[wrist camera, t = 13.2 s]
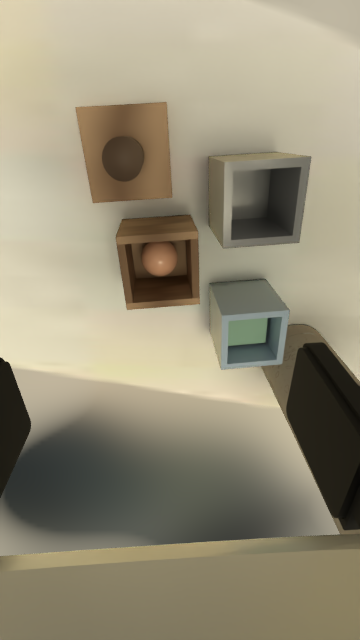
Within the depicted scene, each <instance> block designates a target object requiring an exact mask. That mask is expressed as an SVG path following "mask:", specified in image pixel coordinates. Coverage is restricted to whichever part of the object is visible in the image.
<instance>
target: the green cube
mask: <svg viewBox="0 0 360 640" xmlns="http://www.w3.org/2000/svg"><path fill="white" fill-rule="evenodd" d="M267 321H268V318H260V319H248V320H236V321H229V324H228V346H233V345H244V344H256V343H265V341H266V331H267Z"/></svg>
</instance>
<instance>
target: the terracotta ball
mask: <svg viewBox="0 0 360 640" xmlns="http://www.w3.org/2000/svg"><path fill="white" fill-rule="evenodd" d="M141 261H142V264H143V266H144V268H145V269H146V271H147V272H149V273H150V274H152V275H154V276H165V275H168V274H170V273H171V272H172V271H173V270H174V269H175V267H176V265H177V262H178V254H177V251H176V249H175V247H174V246H173V245H172V244H171V243H170V242H169V241H162V242H149V243H147V244H146V245H145V247H144V248H143V251H142V254H141Z"/></svg>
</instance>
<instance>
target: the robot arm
mask: <svg viewBox="0 0 360 640" xmlns="http://www.w3.org/2000/svg"><path fill="white" fill-rule="evenodd" d="M286 413H287V417H288V420H289V422H290V424H291V427H292V429H293V431H294V433H295V435H296V438H297V440H298V442H299V444H300V447H301V449H302V451H303V453H304V456H305V458H306V460H307V462H308V465H309V467H310V469H311V471H312V473H313V476H314V478H315V480H316V482H317V485H318V487H319V489H320V491H321V494H322V496H323V498H324V500H325V502H326V505H327V507H328V509H329V511H330V513H331V515H332V516H333V517H334V518H338V519H339V521H340V523H341V526H342V528H343V530H359V529H360V386H359V385H358V384H357V383H356V382H355V381H354V379H353V378H352V377H351V376H350V374H349V373H348V372H347V371H346V369H345V368H344V367H343V366H342V364H341V363H340V362H339V360H338V359H337V358H336V357H335V355H334V354H333V353H332V352H331V350H330V349H329V348H328V347H327V345H326V344H325V343H323V342H317V343H305V344H304V345H303V348H299V349H298V351H297V356H296V361H295V366H294V371H293V376H292V381H291V386H290V391H289V396H288V400H287V405H286ZM30 429H31V421H30V418H29V415H28V412H27V410H26V407H25V404H24V401H23V399H22V396H21V393H20V391H19V388H18V385H17V383H16V380H15V377H14V374H13V371H12V369H11V366H10V364H9V363H8V362H5V361H4V360H3V359H2V358H0V497H1V495H2V493H3V491H4V488H5V486H6V484H7V482H8V479H9V477H10V474H11V473H12V470H13V468H14V466H15V464H16V462H17V459H18V457H19V455H20V452H21V450H22V448H23V446H24V444H25V441H26V439H27V437H28V435H29V432H30ZM0 640H360V534H342V535H320V536H298V537H282V538H266V539H248V540H232V541H215V542H199V543H185V544H170V545H154V546H139V547H124V548H109V549H95V550H80V551H66V552H51V553H39V554H24V555H10V556H0Z"/></svg>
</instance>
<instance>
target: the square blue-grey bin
mask: <svg viewBox="0 0 360 640" xmlns="http://www.w3.org/2000/svg"><path fill="white" fill-rule="evenodd" d="M289 312H290V310H289V309H288V307H287V306H286V305H285V303H284V302H283V301H282V300H281V298H280V297H279V296H278V295H277V293H276V292H275V291H274V289H273V288H272V287H271V286H270V284H269V283H268V282H267V280H266V279H259V280H246V281H233V282H220V283H210V334H211V337H212V340H213V344H214V347H215V351H216V354H217V358H218V361H219V365H220V368H221V370H223V369H234V368H245V367H256V366H268V365H279V364H282V362H283V354H284V347H285V340H286V333H287V326H288V319H289ZM260 318H268V321H267V331H266V341H265V343H256V344H244V345H233V346H228V324H229V321H236V320H248V319H260Z"/></svg>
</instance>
